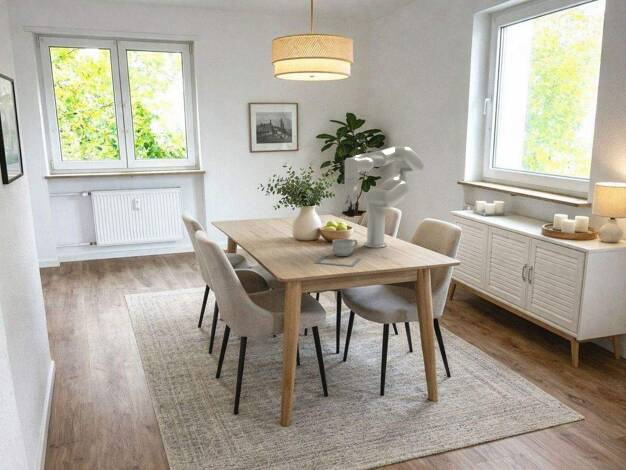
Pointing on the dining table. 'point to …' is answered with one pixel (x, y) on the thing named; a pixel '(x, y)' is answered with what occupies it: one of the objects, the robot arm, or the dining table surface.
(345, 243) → the teacup
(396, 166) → the robot arm
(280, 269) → the dining table surface
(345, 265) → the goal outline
